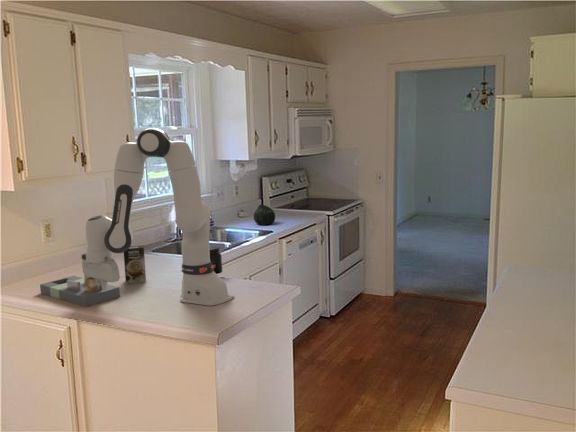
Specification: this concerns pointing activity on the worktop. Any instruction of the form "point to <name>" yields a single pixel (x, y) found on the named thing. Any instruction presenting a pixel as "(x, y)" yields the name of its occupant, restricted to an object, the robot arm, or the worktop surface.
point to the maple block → (91, 284)
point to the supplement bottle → (216, 259)
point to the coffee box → (135, 264)
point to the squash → (264, 215)
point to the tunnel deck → (78, 291)
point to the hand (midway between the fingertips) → (102, 289)
